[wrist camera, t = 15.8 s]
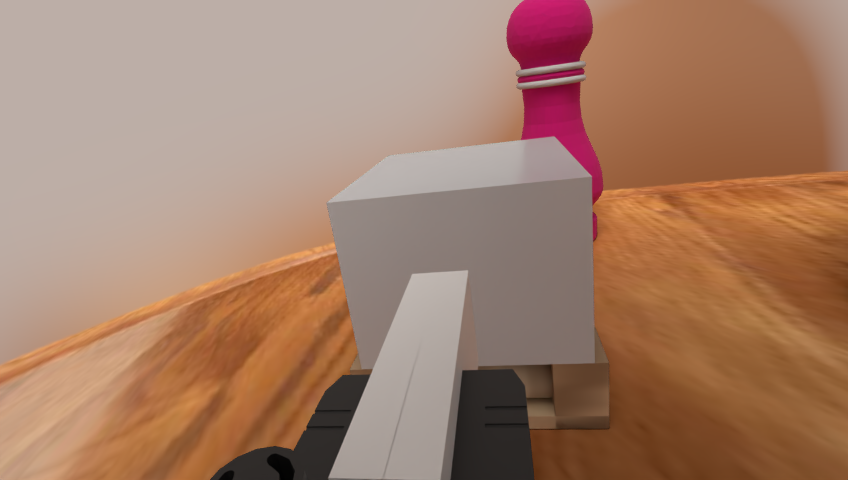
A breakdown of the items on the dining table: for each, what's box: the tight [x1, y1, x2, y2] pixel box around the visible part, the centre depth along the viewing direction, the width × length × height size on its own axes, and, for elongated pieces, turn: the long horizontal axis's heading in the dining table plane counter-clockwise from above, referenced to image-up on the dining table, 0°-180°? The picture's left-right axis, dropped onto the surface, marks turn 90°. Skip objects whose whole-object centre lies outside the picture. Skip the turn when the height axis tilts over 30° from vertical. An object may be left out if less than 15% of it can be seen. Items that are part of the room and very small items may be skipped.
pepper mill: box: [507, 0, 603, 241], centre depth 35 cm, size 7×7×20 cm
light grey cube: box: [327, 136, 595, 369], centre depth 21 cm, size 9×10×7 cm
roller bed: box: [350, 326, 609, 429], centre depth 27 cm, size 10×19×3 cm, turn 172°
